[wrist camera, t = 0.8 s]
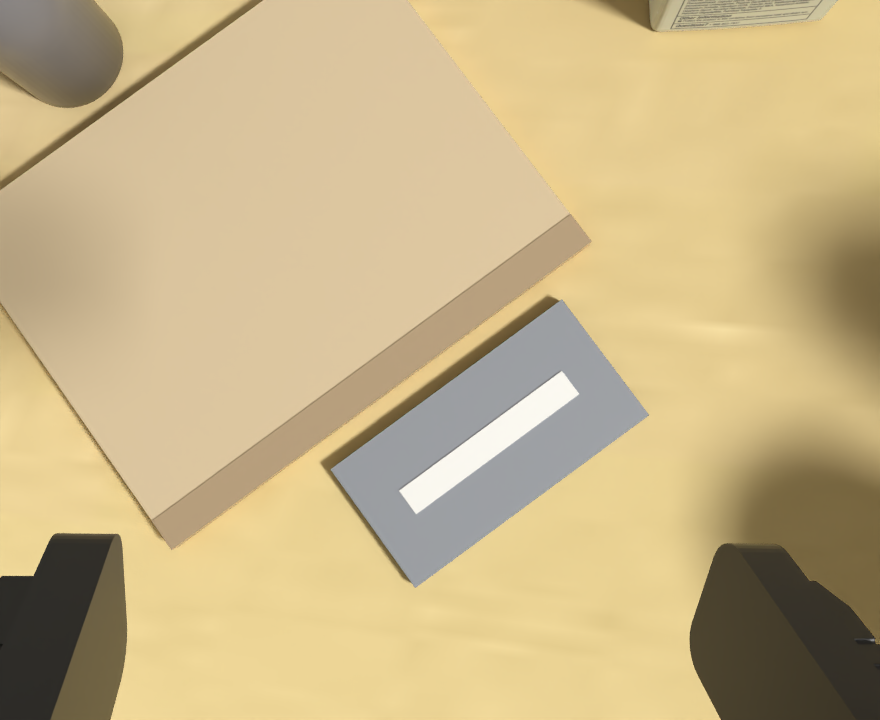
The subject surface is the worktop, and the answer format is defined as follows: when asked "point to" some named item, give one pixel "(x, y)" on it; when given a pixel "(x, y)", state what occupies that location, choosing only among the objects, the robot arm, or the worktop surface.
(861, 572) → the worktop surface
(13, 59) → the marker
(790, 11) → the skincare box
